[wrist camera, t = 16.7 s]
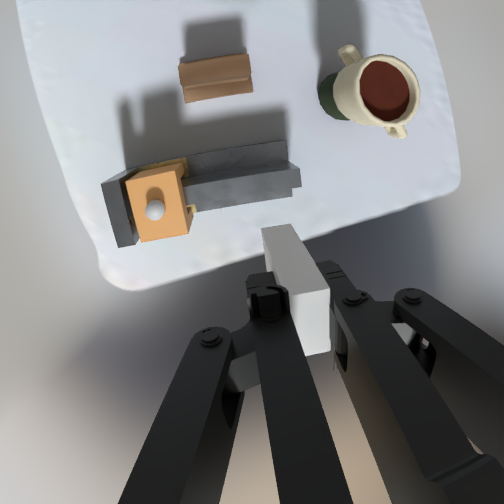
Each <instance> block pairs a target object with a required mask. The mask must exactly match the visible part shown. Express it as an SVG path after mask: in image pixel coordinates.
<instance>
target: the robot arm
mask: <svg viewBox="0 0 504 504" xmlns="http://www.w3.org/2000/svg"><path fill="white" fill-rule="evenodd" d="M261 230H262V238H263V245H264V252H265V260H266V266H267V272H263V273H257V274H251V275H249V276H248V278H247V280H246V281H245V282H246V288H247V295H248V296H247V301H248V307H249V312H250V320H249V322H248V323H247V324H246V325H245V326H244V327H242V328H241V329H239V330H237V331H234V332H232V333H230V332H229V330H226V329H225V328H222V327H208V328H206V329H203V330H200V331H199V332H197V333H196V334H195V335H194V336H193V338H192V339H191V341H190V343H189V345H188V347H187V349H186V351H185V354H184V356H183V358H182V360H181V362H180V364H179V367H178V369H177V371H176V373H175V376H174V378H173V380H172V382H171V384H170V386H169V389H168V391H167V393H166V395H165V398H164V400H163V402H162V404H161V406H160V409H159V411H158V413H157V415H156V417H155V420H154V422H153V424H152V426H151V429H150V431H149V433H148V436H147V438H146V440H145V442H144V445H143V447H142V449H141V451H140V454H139V456H138V459H137V461H136V463H135V465H134V467H133V470H132V472H131V474H130V477H129V479H128V481H127V483H126V486H125V488H124V490H123V493H122V495H121V497H120V500H119V503H118V504H219V502H220V497H221V493H222V489H223V485H224V481H225V477H226V473H227V469H228V465H229V460H230V456H231V452H232V448H233V443H234V439H235V434H236V430H237V426H238V422H239V417H240V413H241V409H242V404H243V400H244V395H245V392H244V391H245V390H247V389H249V388H252V387H254V386H256V385H258V384H261V390H262V396H263V402H264V409H265V415H266V421H267V427H268V433H269V440H270V446H271V452H272V458H273V464H274V470H275V476H276V482H277V488H278V494H279V500H280V504H353V501H352V498H351V495H350V492H349V489H348V485H347V482H346V479H345V476H344V473H343V469H342V467H341V463H340V460H339V457H338V454H337V451H336V448H335V444H334V441H333V439H332V435H331V432H330V429H329V426H328V423H327V420H326V417H325V414H324V411H323V408H322V405H321V402H320V398H319V396H318V392H317V389H316V386H315V384H314V380H313V377H312V375H311V371H310V368H309V365H308V363H307V360H306V357H305V356H308V355H312V354H317V353H322V352H327V351H330V340H331V342H332V344H333V346H334V374H336V373H337V368H338V369H339V372H340V374H341V377H342V379H343V381H344V384H345V386H346V388H347V391H348V393H349V396H350V398H351V401H352V403H353V405H354V408H355V410H356V413H357V415H358V418H359V420H360V423H361V425H362V428H363V430H364V432H365V435H366V437H367V440H368V443H369V445H370V447H371V450H372V453H373V455H374V458H375V460H376V463H377V466H378V468H379V471H380V473H381V476H382V478H383V481H384V484H385V486H386V489H387V492H388V494H389V497H390V500H391V502H392V504H504V345H502V344H501V343H499V342H498V341H497V340H495V339H494V338H492V337H491V336H489V335H488V334H487V333H485V332H484V331H483V330H481V329H480V328H478V327H477V326H475V325H474V324H472V323H471V322H469V321H468V320H467V319H465V318H463V317H462V316H460V315H459V314H458V313H456V312H455V311H453V310H452V309H450V308H449V307H447V306H446V305H444V304H443V303H441V302H440V301H438V300H437V299H435V298H434V297H432V296H430V295H429V294H427V293H426V292H424V291H422V290H419V289H415V288H406V289H402V290H400V291H398V292H397V293H396V294H395V296H394V301H387V302H386V301H384V302H381V301H374V299H373V298H372V297H371V296H370V295H369V294H368V293H367V292H364V291H361V290H356V288H355V287H354V285H353V284H352V283H351V281H350V280H349V278H348V277H347V276H346V274H345V273H344V272H343V270H342V269H341V268H340V266H339V265H338V264H336V263H334V262H333V261H331V260H329V261H322V262H317V263H315V262H314V261H313V259H312V258H311V256H310V254H309V253H308V251H307V249H306V248H305V246H304V245H303V243H302V241H301V240H300V238H299V236H298V235H297V233H296V232H295V230H294V228H293V227H292V225H291V224H286V225H279V226H273V227H267V228H261ZM423 338H425V339H426V340H427V341H428V342H429V345H428V346H425V345H424V344H423V343H422V340H423ZM466 436H467V437H468V438H469V439H470V440H471V441H472V442H473V443H474V444H475V445H476V446H477V447H478V448H479V449H480V450H481V451H482V452H483V453H484V454H482V455H481V454H478V453H477V452H476V451H475V450H474V449H473V447H472V445H471V443H470V442H469V440H468V438H467V437H466Z"/></svg>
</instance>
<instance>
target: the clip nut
mask: <svg viewBox="0 0 504 504" xmlns="http://www.w3.org/2000/svg"><path fill="white" fill-rule="evenodd" d="M183 174H184V168H183V162H182V163H177V164H173V165H168V166H163V167H159V168H154V169H150V170H145V171H141V172H139V173H138V174H136V175H135V176H133V177H132V178H130V179H129V180H127V181H126V186H127V191H128V195H129V199H130V203H131V207H132V211H133V215H134V219H135V222H136V226H137V230H138V233H139V237H140V241H141V243H142V242H147V241H153V240H158V239H163V238H169V237H174V236H179V235H185V234H188V233H189V230H190V226H191V223H192V219H193V212H192V207H186V202H185V197H184V193H183V188H182V183H181V177H182V175H183Z"/></svg>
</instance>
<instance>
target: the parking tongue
mask: <svg viewBox="0 0 504 504" xmlns="http://www.w3.org/2000/svg"><path fill="white" fill-rule="evenodd" d="M178 70H179V77H180V83H181V85H182V87H183V93H184V100H185V103H190V102H195V101H200V100H206V99H211V98H217V97H223V96H230V95H236V94H243V93H251V92H253V87H252V81H251V75H250V74H251V67H250V60H249V54H247V53H240V54H232V55H225V56H219V57H212V58H206V59H201V60H195V61H190V62H185V63H180V64H179V66H178Z"/></svg>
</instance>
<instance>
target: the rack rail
mask: <svg viewBox="0 0 504 504" xmlns="http://www.w3.org/2000/svg"><path fill="white" fill-rule="evenodd" d="M182 162H183V168H184V174H183V175H182V177H181V183H182V188H183V193H184V197H185V202H186V207H192V212H193V213H197V212H201V211H206V210H212V209H218V208H223V207H229V206H235V205H241V204H247V203H253V202H260V201H266V200H272V199H279V198H285V197H292V188H297V187H302V184H301V175H300V168H298V167H297V166H295V165H294V164H292V163H291V162H289V161H288V154H287V146H286V141H276V142H268V143H261V144H254V145H247V146H241V147H234V148H228V149H222V150H217V151H211V152H205V153H200V154H195V155H190V156H185V157H180V158H175V159H170V160H165V161H161V162H156V163H152V164H148V165H143V166H139V167H135V168H131V169H127V170H124V171H123V172H121V173H119V174H117V175H115V176H114V177H112V178H110V179H108V180H107V181H105V182H103V183H102V184H101V187H102V191H103V195H104V199H105V203H106V207H107V211H108V214H109V218H110V221H111V225H112V229H113V232H114V235H115V239H116V242H117V245H118V248H121V247H126V246H131V245H135V244H136V243H137V241H138V240H139V238H140V237H139V233H138V230H137V226H136V222H135V219H134V215H133V211H132V207H131V203H130V199H129V195H128V191H127V186H126V181H127V180H129V179H130V178H132V177H133V176H135V175H136V174H138V173H139V172H141V171H145V170H150V169H154V168H159V167H163V166H168V165H173V164H177V163H182Z"/></svg>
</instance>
